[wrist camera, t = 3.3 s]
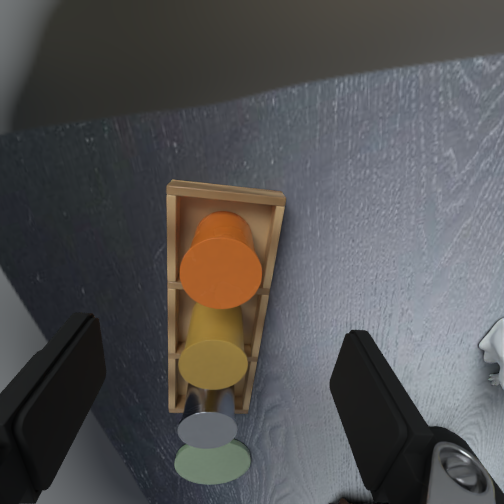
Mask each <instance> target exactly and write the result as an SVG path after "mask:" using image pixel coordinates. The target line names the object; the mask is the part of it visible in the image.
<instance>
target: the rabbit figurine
mask: <svg viewBox="0 0 504 504" xmlns="http://www.w3.org/2000/svg"><path fill="white" fill-rule="evenodd" d="M479 348H480V349H482V350H484V351H485V353H484V361H486V362H488V363H496V362H497V363H498V364H499V366H500V371H499V373H497V374H491V375H489V376H491V378H489V379H488V380H490V381H492V380H493V382H491V384H492V386H493V385H495V384H496V386H498V385H499V384H501V386H502V388H503V390H504V318H502V319H500V320H499V321H498V322H497V323H496V324H495V325H494V326H493V328H492V329H491V330H490V332H489V333H488V334H487V335H486V336H485V337H484V339H483V340H482V341H481V342H480V344H479Z"/></svg>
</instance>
